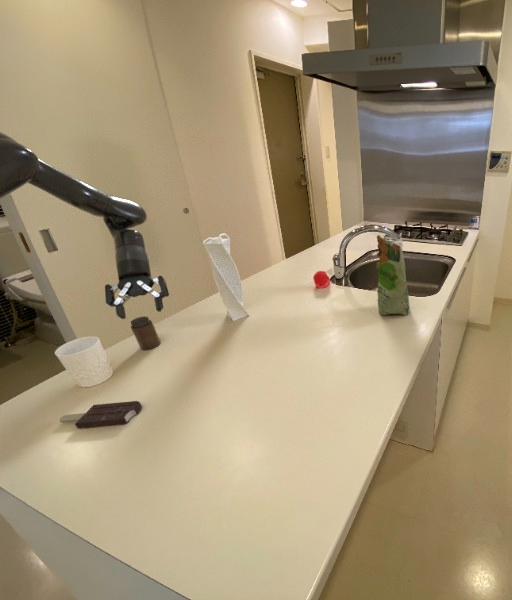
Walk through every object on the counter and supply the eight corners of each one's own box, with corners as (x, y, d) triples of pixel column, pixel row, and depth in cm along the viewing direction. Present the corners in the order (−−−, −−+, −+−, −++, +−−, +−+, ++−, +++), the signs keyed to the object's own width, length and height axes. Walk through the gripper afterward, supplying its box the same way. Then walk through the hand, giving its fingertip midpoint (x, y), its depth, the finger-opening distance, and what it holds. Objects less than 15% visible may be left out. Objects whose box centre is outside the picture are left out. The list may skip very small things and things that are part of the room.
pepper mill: (137, 351, 91) (124, 325, 87) (146, 341, 95) (135, 316, 92) (155, 349, 92) (143, 323, 88) (164, 339, 96) (153, 315, 92)
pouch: (405, 321, 103) (404, 245, 91) (369, 317, 105) (364, 242, 94) (413, 305, 112) (413, 234, 101) (380, 301, 115) (377, 232, 103)
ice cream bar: (52, 431, 67) (130, 424, 68) (48, 426, 66) (127, 418, 67) (72, 412, 71) (145, 405, 73) (68, 406, 71) (142, 400, 72)
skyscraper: (254, 315, 108) (233, 232, 95) (231, 324, 103) (206, 238, 90) (244, 307, 113) (222, 228, 100) (222, 315, 108) (196, 233, 95)
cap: (331, 289, 125) (329, 274, 122) (316, 291, 123) (313, 277, 120) (329, 281, 132) (327, 267, 129) (313, 283, 130) (311, 269, 127)
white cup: (94, 391, 77) (74, 357, 73) (66, 387, 78) (45, 354, 74) (124, 369, 84) (107, 337, 79) (98, 366, 85) (80, 335, 81)
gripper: (96, 262, 90) (103, 316, 86) (157, 253, 96) (166, 304, 92) (109, 273, 97) (116, 324, 93) (165, 265, 102) (174, 312, 99)
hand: (141, 314), depth 92 cm, fingers open, 8 cm apart
